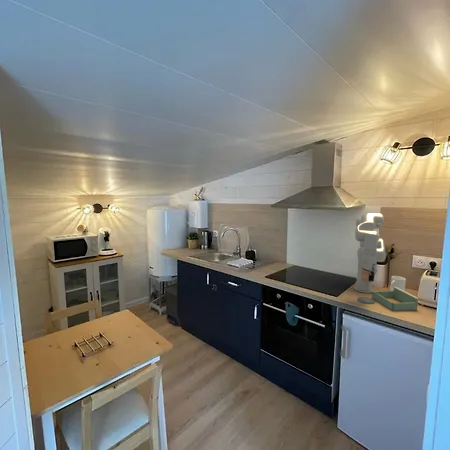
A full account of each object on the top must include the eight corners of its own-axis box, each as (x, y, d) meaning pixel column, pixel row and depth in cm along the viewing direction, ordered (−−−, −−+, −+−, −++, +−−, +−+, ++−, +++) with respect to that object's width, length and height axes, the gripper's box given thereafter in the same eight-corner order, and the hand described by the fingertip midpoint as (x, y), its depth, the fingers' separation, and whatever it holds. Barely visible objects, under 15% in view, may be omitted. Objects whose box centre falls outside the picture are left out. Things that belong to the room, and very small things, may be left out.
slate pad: (354, 297, 177) (354, 297, 177) (368, 297, 177) (368, 296, 177) (363, 304, 167) (363, 303, 167) (378, 303, 167) (378, 302, 167)
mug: (384, 291, 189) (385, 277, 187) (395, 289, 193) (396, 275, 192) (396, 296, 181) (397, 280, 179) (407, 293, 186) (408, 278, 184)
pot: (359, 278, 174) (359, 268, 173) (369, 278, 174) (370, 268, 173) (365, 282, 166) (366, 271, 166) (376, 282, 167) (377, 271, 166)
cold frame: (372, 297, 177) (372, 286, 176) (394, 297, 178) (395, 286, 178) (392, 310, 158) (393, 298, 157) (417, 310, 159) (418, 298, 158)
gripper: (356, 249, 176) (354, 275, 178) (372, 254, 159) (370, 283, 161) (367, 249, 177) (365, 275, 179) (384, 254, 160) (382, 283, 162)
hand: (367, 278), depth 170 cm, fingers closed on pot, 6 cm apart
